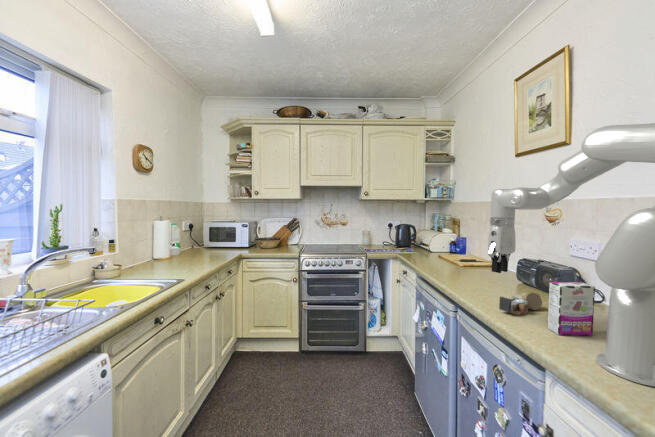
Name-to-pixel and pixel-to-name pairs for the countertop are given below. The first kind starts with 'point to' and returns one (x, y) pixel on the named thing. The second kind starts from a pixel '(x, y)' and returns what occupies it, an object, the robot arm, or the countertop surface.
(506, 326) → the countertop surface
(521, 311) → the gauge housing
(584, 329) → the candy bar box
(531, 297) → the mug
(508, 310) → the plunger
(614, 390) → the countertop surface
